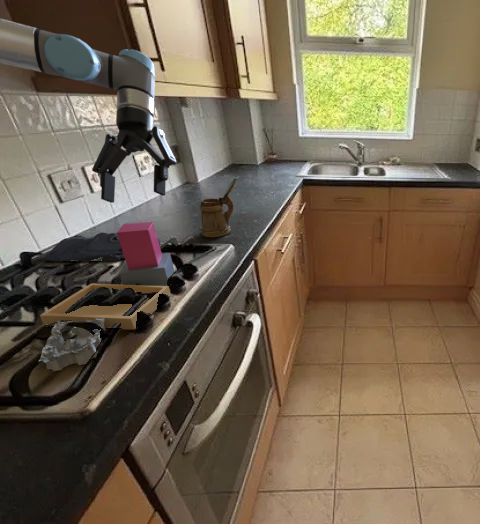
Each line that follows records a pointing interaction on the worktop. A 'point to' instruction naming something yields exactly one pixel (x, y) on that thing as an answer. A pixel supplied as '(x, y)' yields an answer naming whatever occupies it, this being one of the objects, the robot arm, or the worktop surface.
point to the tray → (104, 307)
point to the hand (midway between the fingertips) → (133, 197)
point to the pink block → (140, 245)
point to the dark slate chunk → (87, 249)
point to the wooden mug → (217, 214)
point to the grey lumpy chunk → (70, 346)
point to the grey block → (148, 273)
